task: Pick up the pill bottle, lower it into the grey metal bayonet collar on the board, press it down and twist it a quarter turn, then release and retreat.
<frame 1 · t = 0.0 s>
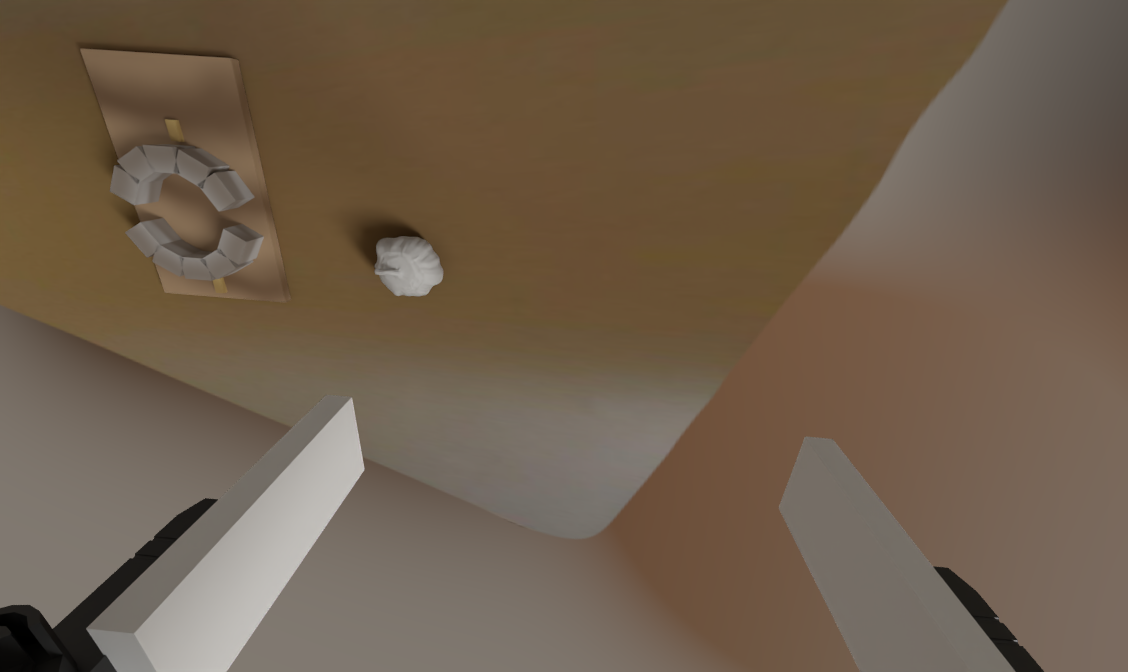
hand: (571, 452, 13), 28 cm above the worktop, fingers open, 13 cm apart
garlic: (418, 259, 40), on the worktop
socket board: (201, 188, 38), on the worktop
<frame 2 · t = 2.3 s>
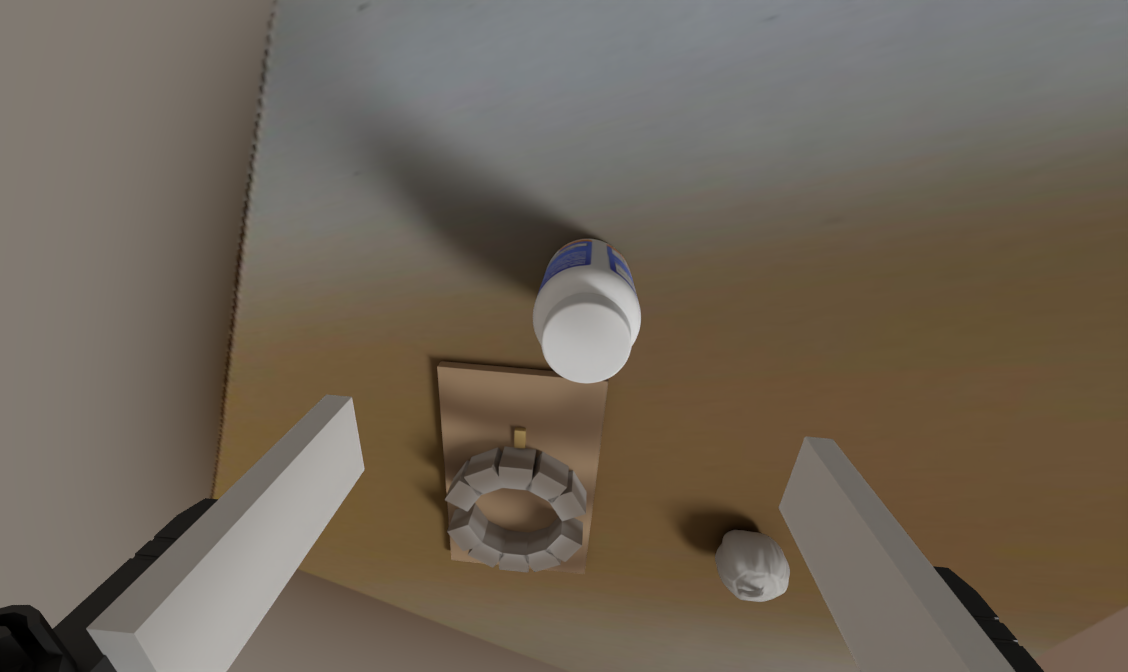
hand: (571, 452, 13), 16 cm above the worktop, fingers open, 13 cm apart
pill bottle: (588, 277, 28), on the worktop
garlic: (741, 539, 37), on the worktop
socket board: (521, 475, 35), on the worktop
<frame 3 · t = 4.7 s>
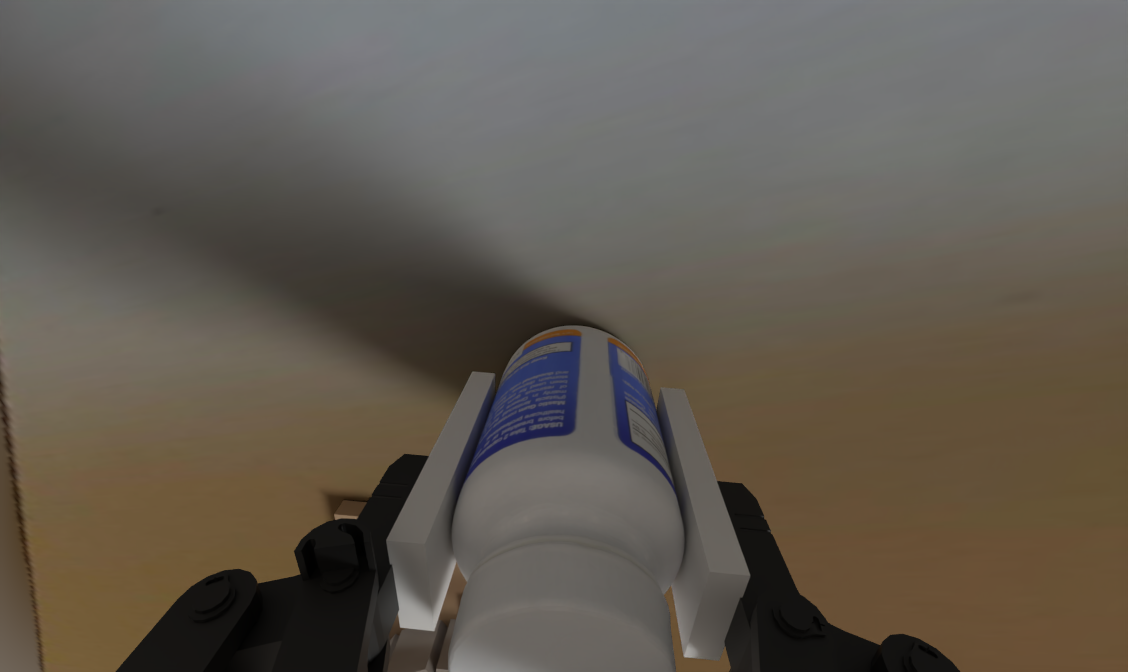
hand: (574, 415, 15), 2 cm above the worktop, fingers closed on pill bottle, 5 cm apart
pill bottle: (576, 383, 16), on the worktop, touching gripper
socket board: (480, 646, 24), on the worktop
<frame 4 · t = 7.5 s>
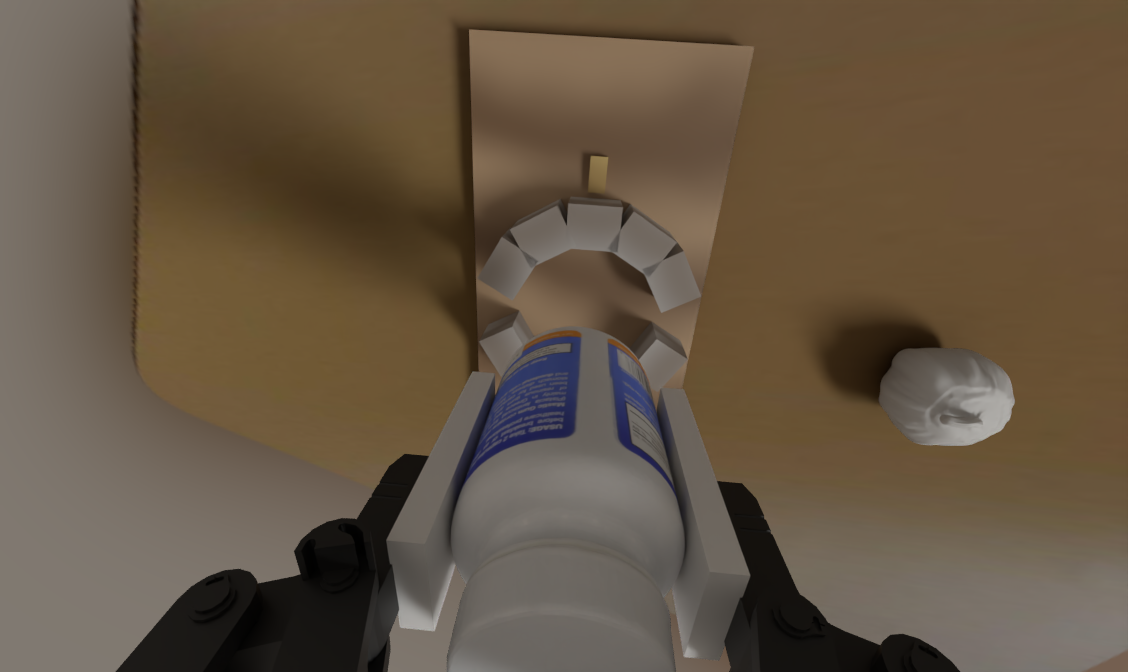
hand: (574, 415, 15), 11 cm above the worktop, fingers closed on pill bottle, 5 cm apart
pill bottle: (576, 384, 16), point 9 cm above the worktop, touching gripper
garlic: (910, 372, 25), on the worktop
socket board: (589, 263, 23), on the worktop
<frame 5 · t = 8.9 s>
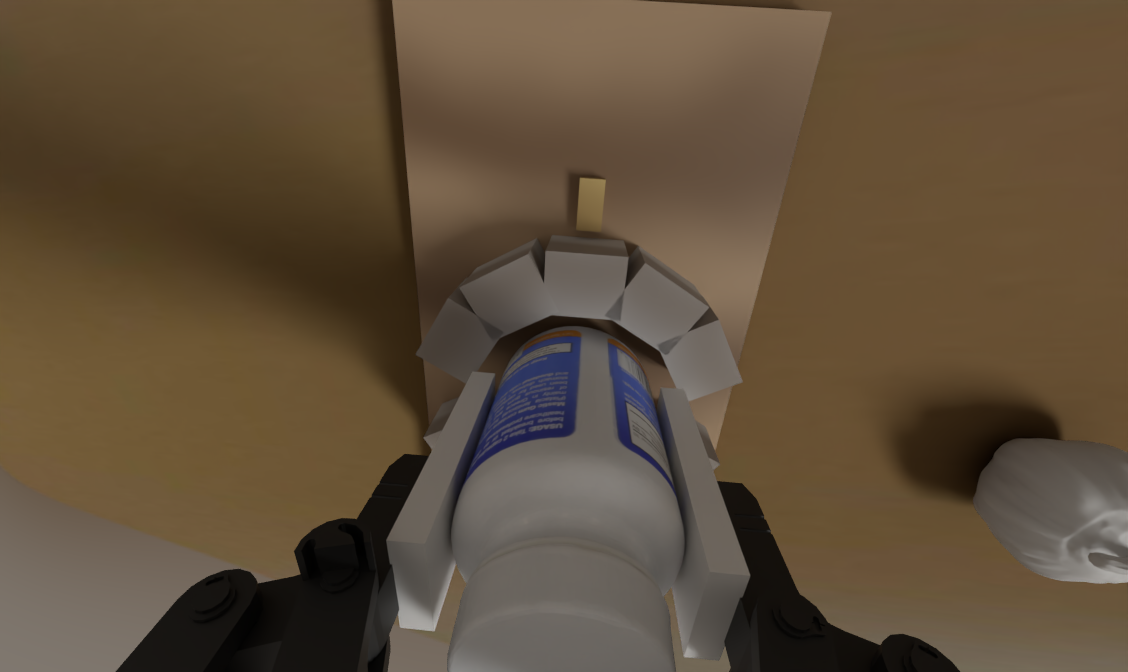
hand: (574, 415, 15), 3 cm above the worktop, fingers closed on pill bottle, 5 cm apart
pill bottle: (576, 384, 16), point 1 cm above the worktop, touching gripper
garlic: (1012, 463, 19), on the worktop
socket board: (580, 323, 17), on the worktop
when the fingers open (3 cm above the worktop, at t = 10.8 s): pill bottle stays where it is, resting on socket board.
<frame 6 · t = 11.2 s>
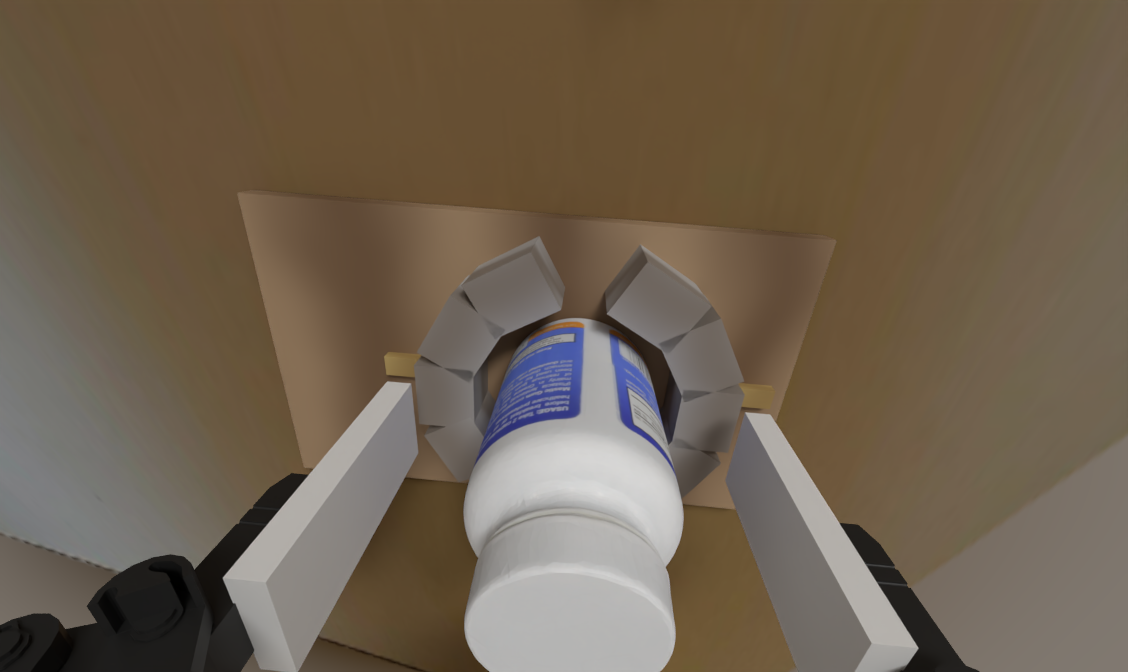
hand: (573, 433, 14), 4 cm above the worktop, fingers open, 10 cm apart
pill bottle: (578, 375, 17), point 1 cm above the worktop, touching socket board
socket board: (528, 363, 18), on the worktop
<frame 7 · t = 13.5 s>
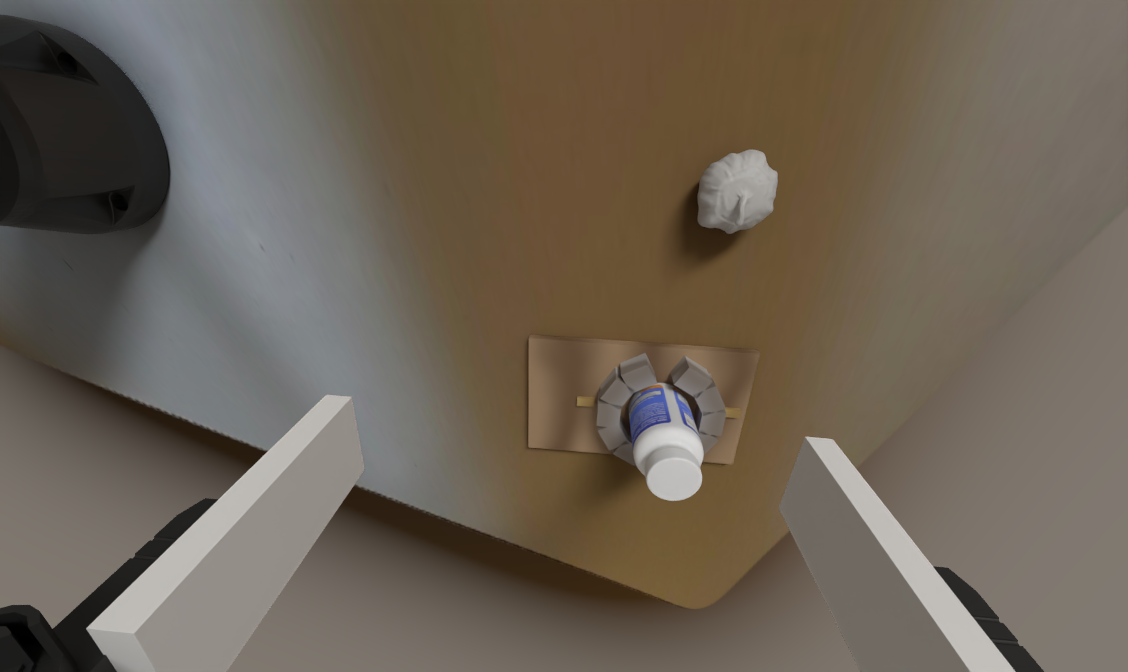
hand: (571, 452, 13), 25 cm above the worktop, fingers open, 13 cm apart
pill bottle: (657, 404, 40), point 1 cm above the worktop, touching socket board
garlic: (726, 190, 33), on the worktop
socket board: (634, 399, 41), on the worktop
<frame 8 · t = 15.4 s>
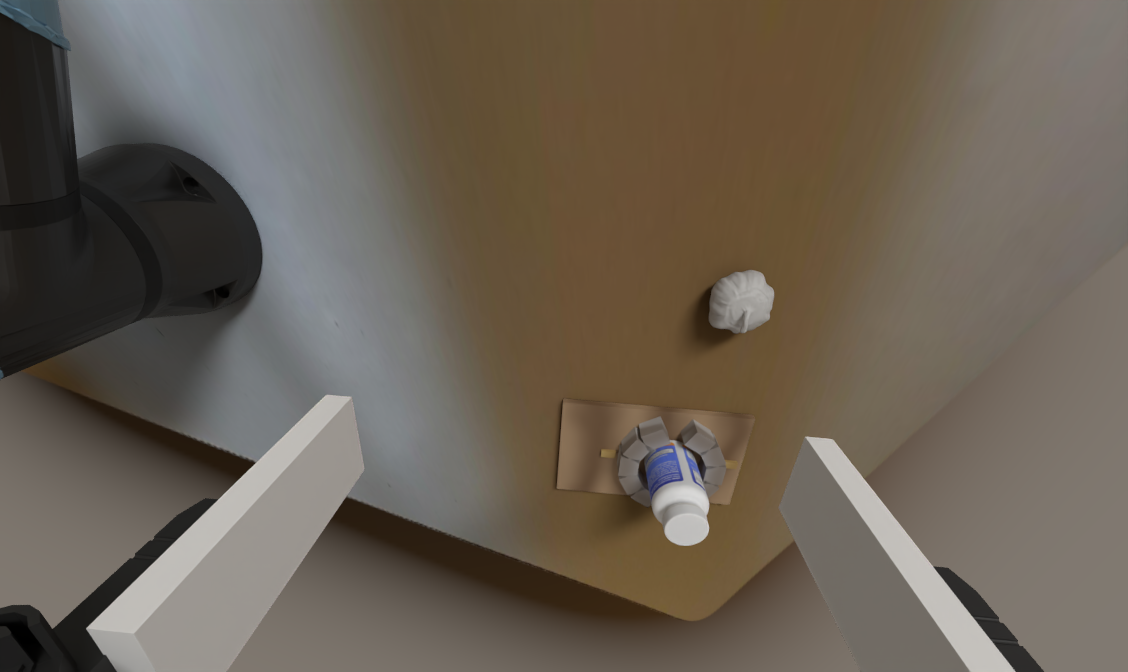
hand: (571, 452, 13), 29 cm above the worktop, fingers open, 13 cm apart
pill bottle: (668, 456, 48), point 1 cm above the worktop, touching socket board
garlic: (732, 293, 40), on the worktop
socket board: (649, 451, 48), on the worktop
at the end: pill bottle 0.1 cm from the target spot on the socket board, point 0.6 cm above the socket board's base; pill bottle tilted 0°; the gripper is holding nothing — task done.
